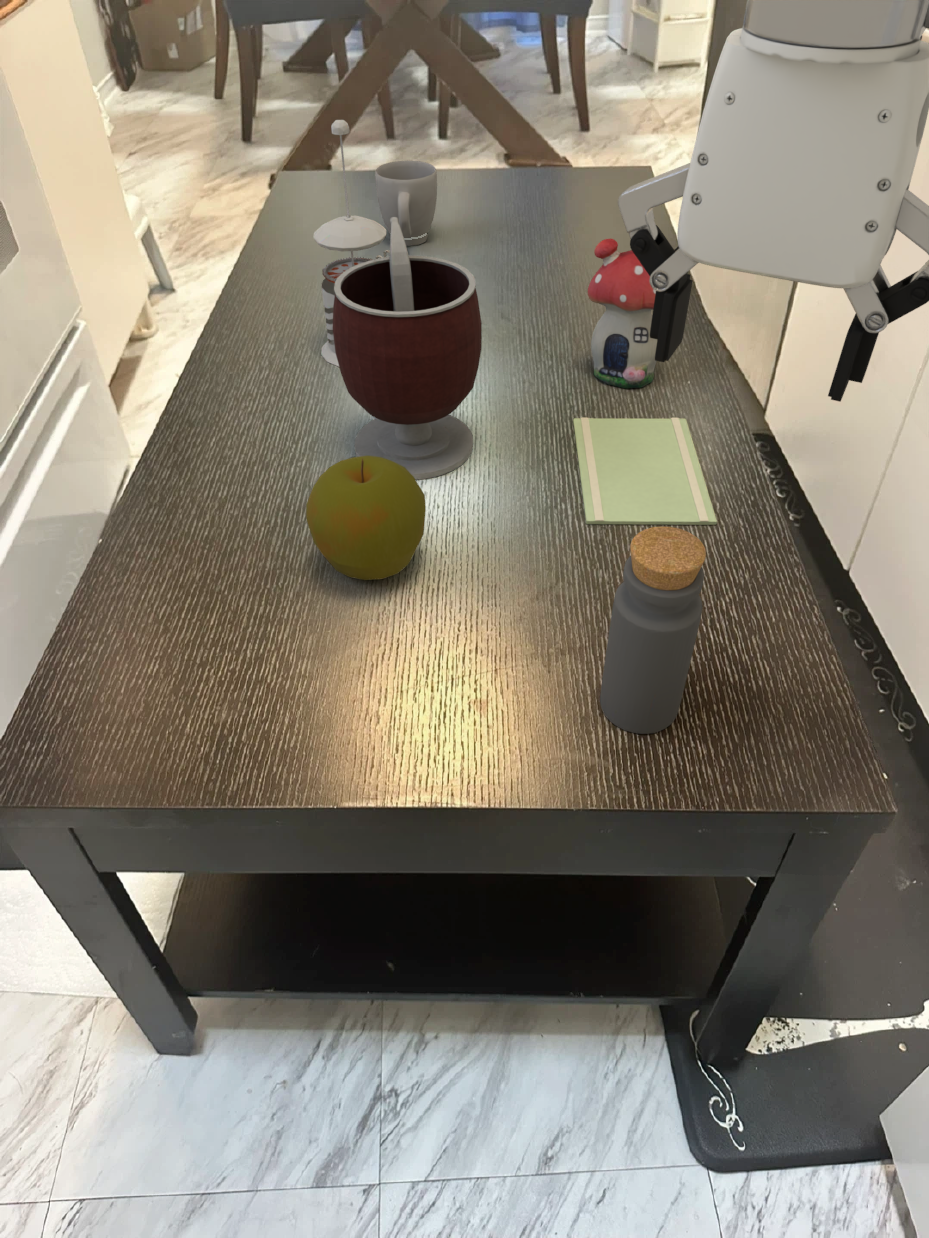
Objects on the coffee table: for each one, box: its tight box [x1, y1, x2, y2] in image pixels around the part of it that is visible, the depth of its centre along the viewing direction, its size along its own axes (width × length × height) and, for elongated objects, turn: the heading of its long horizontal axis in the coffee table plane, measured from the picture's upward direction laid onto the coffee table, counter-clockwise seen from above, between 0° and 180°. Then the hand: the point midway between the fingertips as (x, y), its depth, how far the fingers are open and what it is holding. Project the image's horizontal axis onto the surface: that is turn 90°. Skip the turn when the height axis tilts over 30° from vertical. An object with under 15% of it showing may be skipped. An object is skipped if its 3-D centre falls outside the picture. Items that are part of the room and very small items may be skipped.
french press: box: [313, 119, 390, 368], centre depth 98 cm, size 10×12×25 cm
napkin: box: [572, 416, 718, 526], centre depth 88 cm, size 18×12×1 cm, turn 179°
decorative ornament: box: [587, 238, 658, 390], centre depth 97 cm, size 9×7×15 cm
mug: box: [374, 159, 438, 247], centre depth 128 cm, size 12×9×10 cm
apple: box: [305, 456, 427, 581], centre depth 74 cm, size 10×10×11 cm
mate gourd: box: [333, 217, 483, 480], centre depth 85 cm, size 16×14×20 cm
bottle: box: [599, 525, 707, 735], centre depth 61 cm, size 6×6×15 cm
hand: (750, 370), depth 50 cm, fingers open, 9 cm apart
